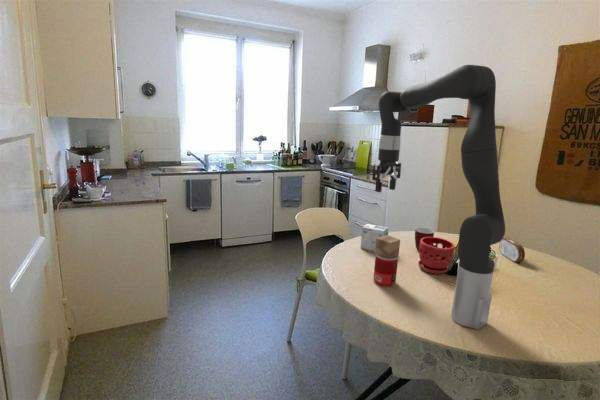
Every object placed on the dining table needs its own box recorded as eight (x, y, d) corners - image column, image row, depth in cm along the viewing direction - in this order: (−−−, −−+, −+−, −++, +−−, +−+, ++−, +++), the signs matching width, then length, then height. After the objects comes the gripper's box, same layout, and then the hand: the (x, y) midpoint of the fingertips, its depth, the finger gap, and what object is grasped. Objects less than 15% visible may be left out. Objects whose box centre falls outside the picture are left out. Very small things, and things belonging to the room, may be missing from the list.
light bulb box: (387, 249, 165) (389, 227, 162) (382, 254, 159) (384, 231, 156) (365, 244, 170) (367, 223, 168) (359, 248, 164) (361, 226, 162)
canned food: (395, 288, 127) (399, 259, 125) (373, 285, 129) (375, 257, 126) (394, 279, 135) (397, 251, 132) (373, 276, 136) (375, 249, 133)
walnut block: (398, 255, 129) (400, 239, 127) (388, 259, 125) (390, 242, 124) (384, 250, 133) (386, 235, 132) (374, 253, 129) (376, 238, 128)
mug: (407, 246, 170) (410, 226, 167) (423, 246, 171) (426, 226, 168) (417, 254, 159) (420, 233, 157) (434, 254, 160) (437, 233, 158)
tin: (523, 265, 152) (527, 246, 150) (516, 265, 152) (520, 246, 150) (503, 252, 167) (506, 235, 165) (496, 252, 167) (499, 234, 165)
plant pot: (418, 274, 140) (421, 245, 137) (415, 261, 152) (418, 234, 149) (453, 278, 137) (457, 249, 134) (448, 265, 149) (452, 238, 146)
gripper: (385, 149, 125) (381, 194, 129) (409, 148, 134) (404, 190, 138) (369, 147, 130) (365, 190, 134) (392, 146, 139) (388, 187, 143)
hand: (385, 190), depth 136 cm, fingers open, 8 cm apart
